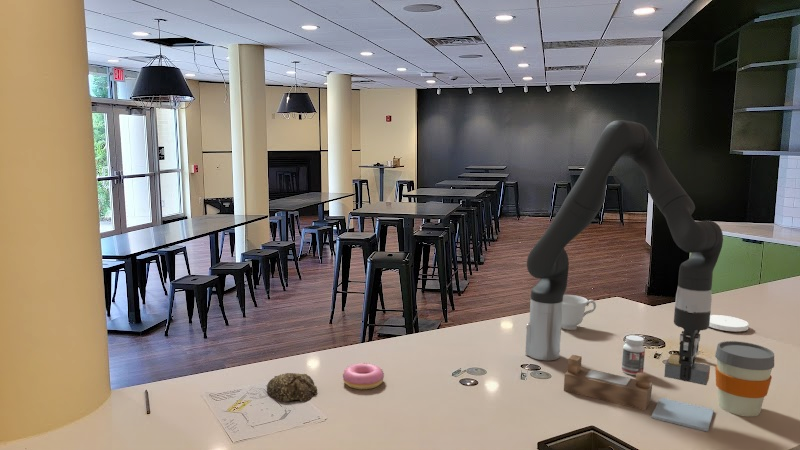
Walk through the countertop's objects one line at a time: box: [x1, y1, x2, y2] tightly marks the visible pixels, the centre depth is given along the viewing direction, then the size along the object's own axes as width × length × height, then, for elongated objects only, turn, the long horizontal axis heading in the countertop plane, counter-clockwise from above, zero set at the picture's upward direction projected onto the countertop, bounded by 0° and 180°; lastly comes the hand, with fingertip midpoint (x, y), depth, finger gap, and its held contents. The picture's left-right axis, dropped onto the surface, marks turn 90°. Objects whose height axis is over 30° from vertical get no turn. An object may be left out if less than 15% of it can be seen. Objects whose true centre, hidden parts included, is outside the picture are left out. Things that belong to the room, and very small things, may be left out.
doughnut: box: [342, 362, 385, 390], centre depth 162 cm, size 11×11×4 cm
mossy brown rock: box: [266, 372, 318, 403], centre depth 156 cm, size 13×12×5 cm
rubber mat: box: [650, 397, 715, 432], centre depth 147 cm, size 12×12×1 cm
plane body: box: [563, 354, 653, 411], centre depth 157 cm, size 20×7×8 cm, turn 58°
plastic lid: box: [709, 314, 750, 332], centre depth 216 cm, size 14×14×2 cm
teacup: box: [561, 294, 597, 331], centre depth 211 cm, size 12×15×10 cm
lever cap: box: [663, 353, 711, 386], centre depth 146 cm, size 9×5×4 cm, turn 58°
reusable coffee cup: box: [714, 340, 775, 417], centre depth 150 cm, size 13×13×15 cm
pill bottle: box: [621, 335, 646, 376], centre depth 172 cm, size 6×6×10 cm
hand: (686, 376), depth 146 cm, fingers closed on lever cap, 5 cm apart
